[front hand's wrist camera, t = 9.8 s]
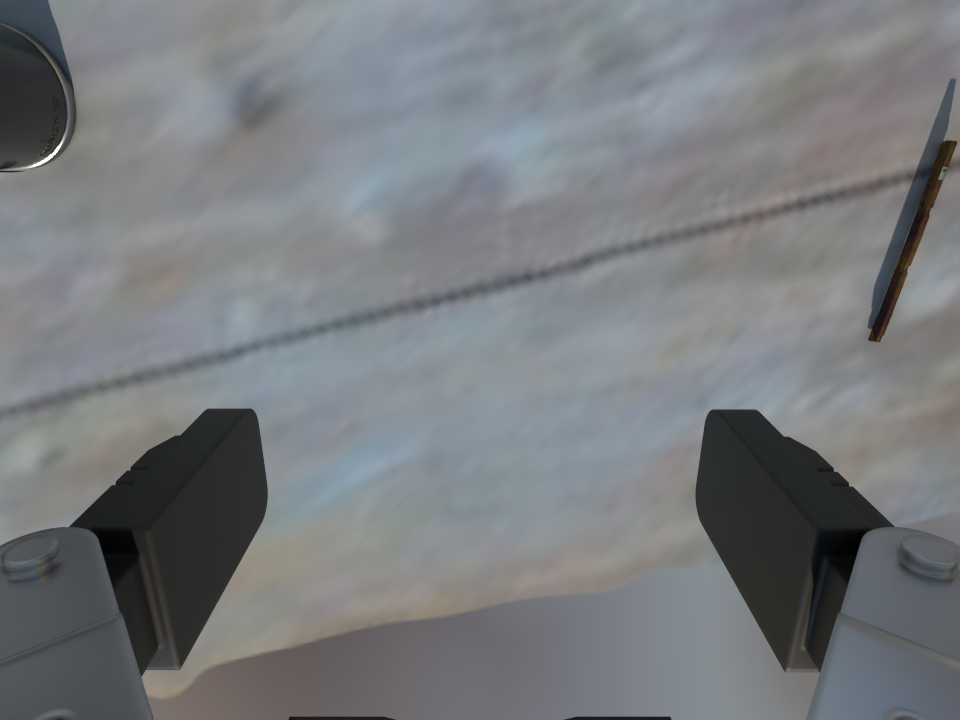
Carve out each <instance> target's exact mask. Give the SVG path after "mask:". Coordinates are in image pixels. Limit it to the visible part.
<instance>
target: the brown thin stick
mask: <svg viewBox="0 0 960 720" xmlns="http://www.w3.org/2000/svg"><path fill="white" fill-rule="evenodd" d="M956 144H957V142H956V141H945V142H943V143H942V145H941V147H940V150H939V153H938V156H937V158H936V161H935V163H934V166H933V169H932V172H931V174H930V177H929V179H928V182H927V185H926V188H925V190H924V192H923V195H922V198H921V201H920V204H919V206H918V209H917V212H916V215H915V217H914V220H913V223H912V225H911V228H910V231H909V234H908V237H907V239H906V242H905V244H904V247H903V249H902V252H901V255H900V257H899V260H898V262H897V265H896V268H895V270H894V273H893V276H892V278H891V281H890V284H889V287H888V289H887V292H886V294H885V297H884V300H883V303H882V306H881V308H880V311H879V313H878V316H877V318H876V321H875V323H874V326H873V329H872V331H871V334H870V337H869V339H868V340H869V341H874V342H880V340H881V338H882V336H884V334H885V331H886V328H887V326H888V323H889V321H890V318H891V316H892V313H893V310H894V308H895V305H896V302H897V299H898V297H899V295H900V292H901V289H902V287H903V284H904V281H905V278H906V276H907V270H908V267H909V266H911V263H912V260H913V258H914V256H915V253H916V250H917V248H918V245H919V243H920V240H921V238H922V235H923V232H924V229H925V227H926V224H927V222H928V219H929V212H930V210H931V208H932V207H933V205H934V203H935V200H936V197H937V195H938V192H939V189H940V186H941V184H942V181H943V179H944V177H945V175H946V172H947V169H948V165H949V163H950V160H951V157H952V155H953V153H954V150H955V147H956Z"/></svg>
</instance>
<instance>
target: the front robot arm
mask: <svg viewBox="0 0 960 720" xmlns="http://www.w3.org/2000/svg"><path fill="white" fill-rule="evenodd" d="M75 123H76V105H75V99H74V94H73V91H72V88H71V85H70V82H69V80H68V78H67V76H66V74H65V72H64V70H63V68H62V67H61V65H60V64H59V62H58V61H57V60H56V58H55V57H54V56H53V55H52V53H51V52H50V51H49V50H48V49H47V48H46V47H45V46H44V45H43V44H42V43H40V42H39V41H38V40H37V39H35V38H34V37H32V36H31V35H29V34H28V33H26V32H24V31H22V30H20V29H18V28H16V27H14V26H11V25H8V24H4V23H0V170H2V169H12V170H20V169H32V168H37V167H41V166H44V165H46V164H48V163H50V162H52V161H53V160H55V159H56V158H57V157H59V156H60V155H61V154H62V153H63V151H64V150H65V149H66V148H67V146H68V144H69V143H70V140H71V138H72V136H73V133H74V129H75ZM0 172H22V171H0ZM267 498H268V489H267V480H266V473H265V466H264V458H263V451H262V444H261V437H260V429H259V423H258V418H257V415H256V413H255V412H254V410H252V409H207V410H205V411H204V412H203V413H202V414H201V415H200V416H199V417H198V418H197V419H196V420H195V421H194V422H193V423H192V424H191V425H190V426H189V427H188V428H187V429H186V430H185V431H184V432H183V433H182V434H181V435H180V436H174V437H172V438H170V439H168V440H166V441H165V442H163V443H161V444H159V445H157V446H155V447H153V448H152V449H150V450H148V451H147V452H146V453H145V454H144V455H143V456H142V457H141V458H140V459H139V460H138V461H137V462H136V463H135V464H134V465H133V466H132V467H131V470H130V471H126V472H125V473H124V474H123V475H122V476H121V477H120V478H119V479H118V480H117V481H116V485H112V486H111V487H110V488H109V489H108V490H107V491H106V492H105V493H104V494H103V495H101V496H100V497H99V498H98V499H97V500H96V501H95V502H94V503H93V504H92V505H91V506H90V507H89V508H88V509H87V510H86V511H85V512H84V513H83V514H82V515H81V516H80V517H79V518H78V519H77V520H76V521H75V522H74V523H72V524H71V525H70V526H69V527H60V528H51V529H46V530H41V531H37V532H34V533H30V534H27V535H24V536H21V537H18V538H16V539H14V540H11V541H9V542H7V543H5V544H3V545H1V546H0V720H154V718H153V715H152V712H151V708H150V705H149V702H148V698H147V695H146V692H145V688H144V685H143V682H142V678H141V677H142V675H143V674H144V672H145V670H180V669H181V667H182V665H183V664H184V662H185V660H186V658H187V656H188V655H189V653H190V651H191V649H192V647H193V646H194V644H195V642H196V640H197V638H198V637H199V635H200V633H201V631H202V629H203V628H204V626H205V624H206V622H207V620H208V619H209V617H210V615H211V613H212V611H213V610H214V608H215V606H216V604H217V602H218V601H219V599H220V597H221V595H222V593H223V592H224V590H225V588H226V586H227V584H228V583H229V581H230V579H231V577H232V575H233V574H234V572H235V570H236V568H237V566H238V565H239V563H240V561H241V559H242V557H243V556H244V554H245V552H246V550H247V548H248V547H249V545H250V543H251V541H252V539H253V538H254V536H255V534H256V532H257V530H258V529H259V527H260V525H261V523H262V521H263V519H264V516H265V512H266V507H267ZM696 506H697V512H698V516H699V519H700V522H701V524H702V526H703V527H704V529H705V531H706V533H707V534H708V536H709V538H710V540H711V542H712V543H713V545H714V547H715V549H716V550H717V552H718V554H719V556H720V558H721V559H722V561H723V563H724V565H725V566H726V568H727V570H728V572H729V574H730V575H731V577H732V579H733V581H734V582H735V584H736V586H737V588H738V589H739V591H740V593H741V595H742V597H743V598H744V600H745V602H746V604H747V605H748V607H749V609H750V611H751V613H752V614H753V616H754V618H755V620H756V621H757V623H758V625H759V627H760V629H761V630H762V632H763V634H764V636H765V638H766V639H767V641H768V643H769V645H770V646H771V648H772V650H773V652H774V653H775V655H776V657H777V659H778V661H779V662H780V664H781V666H782V668H783V670H784V671H785V672H820V675H819V678H818V682H817V685H816V688H815V692H814V695H813V698H812V702H811V705H810V708H809V712H808V715H807V719H806V720H960V546H959V545H957V544H955V543H953V542H951V541H949V540H946V539H944V538H942V537H939V536H936V535H933V534H930V533H926V532H923V531H919V530H914V529H909V528H900V527H894V526H893V525H892V524H891V523H890V522H889V521H888V520H887V519H886V518H885V517H884V516H883V515H882V514H881V513H880V512H879V511H878V510H877V509H876V508H874V507H873V506H872V505H871V504H870V503H869V502H868V501H867V500H866V499H865V498H864V497H863V496H862V495H861V494H860V493H859V492H858V491H857V490H856V489H855V488H854V487H849V483H848V482H847V481H846V480H845V479H844V478H843V477H842V476H841V475H840V474H839V473H838V472H834V468H833V467H832V466H831V465H830V464H829V463H827V462H826V461H825V460H824V459H823V458H822V457H821V456H820V455H819V454H818V453H817V452H816V451H814V450H812V449H810V448H809V447H807V446H805V445H803V444H801V443H799V442H797V441H796V440H794V439H792V438H790V437H784V436H783V435H782V434H781V433H780V432H779V431H778V430H777V429H776V428H775V427H774V426H773V425H772V424H771V423H770V422H769V421H768V420H767V419H766V418H765V417H764V416H763V415H762V414H761V413H760V412H759V411H757V410H711V411H710V412H709V413H708V415H707V417H706V421H705V426H704V433H703V440H702V447H701V454H700V462H699V469H698V476H697V483H696ZM289 720H394V719H390V718H386V717H289ZM566 720H671V717H574V718H570V719H566Z"/></svg>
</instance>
